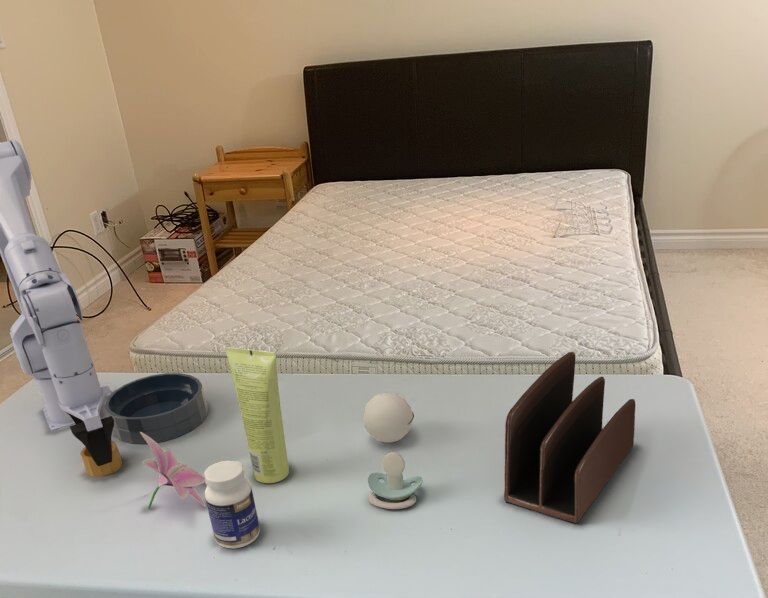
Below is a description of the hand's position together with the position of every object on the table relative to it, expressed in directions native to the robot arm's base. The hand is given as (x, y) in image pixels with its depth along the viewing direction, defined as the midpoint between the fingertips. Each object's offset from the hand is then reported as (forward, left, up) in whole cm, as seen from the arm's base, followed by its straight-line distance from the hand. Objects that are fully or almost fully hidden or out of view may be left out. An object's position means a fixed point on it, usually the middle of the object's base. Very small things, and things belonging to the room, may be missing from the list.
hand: (99, 451), depth 111 cm
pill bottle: (+27, +11, -3) cm, 29 cm away
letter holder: (+42, +53, -3) cm, 67 cm away
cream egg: (+18, +39, -3) cm, 43 cm away
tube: (+17, +20, -3) cm, 27 cm away
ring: (0, 0, -3) cm, 3 cm away
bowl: (-9, +11, -3) cm, 15 cm away
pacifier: (+32, +31, -3) cm, 45 cm away
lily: (+15, +7, -3) cm, 17 cm away
